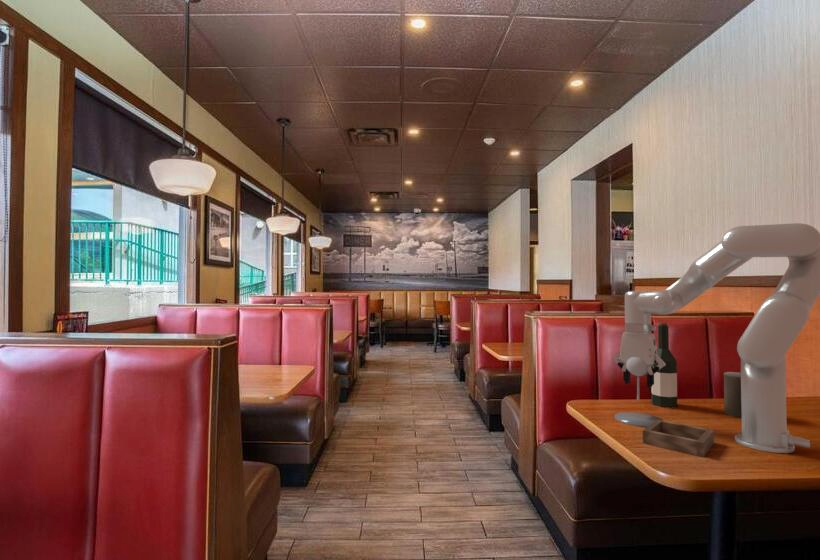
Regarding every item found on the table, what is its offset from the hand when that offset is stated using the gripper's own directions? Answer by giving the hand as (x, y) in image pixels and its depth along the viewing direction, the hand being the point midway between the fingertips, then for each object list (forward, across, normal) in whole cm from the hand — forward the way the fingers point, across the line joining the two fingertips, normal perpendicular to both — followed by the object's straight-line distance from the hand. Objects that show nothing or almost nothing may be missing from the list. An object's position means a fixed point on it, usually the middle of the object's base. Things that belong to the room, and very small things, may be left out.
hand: (638, 384), depth 138 cm
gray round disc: (+12, 0, 0) cm, 12 cm away
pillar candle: (+12, -23, -31) cm, 40 cm away
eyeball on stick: (+5, 0, 0) cm, 5 cm away
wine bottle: (+12, -1, -26) cm, 29 cm away
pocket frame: (+12, -14, +14) cm, 23 cm away
